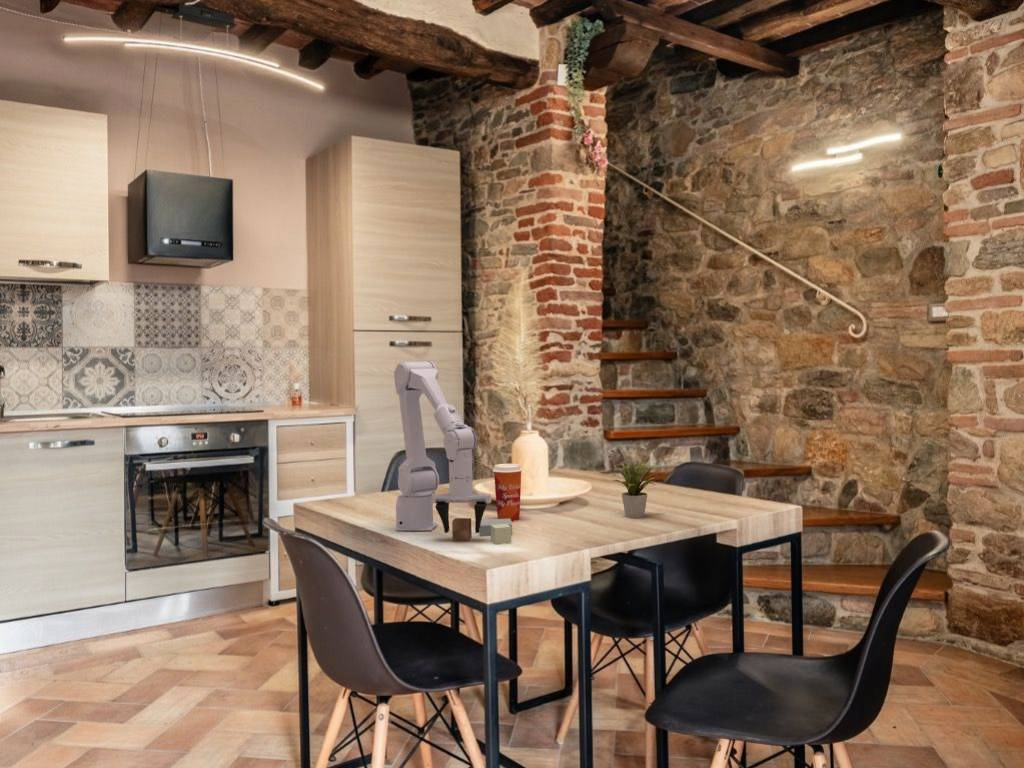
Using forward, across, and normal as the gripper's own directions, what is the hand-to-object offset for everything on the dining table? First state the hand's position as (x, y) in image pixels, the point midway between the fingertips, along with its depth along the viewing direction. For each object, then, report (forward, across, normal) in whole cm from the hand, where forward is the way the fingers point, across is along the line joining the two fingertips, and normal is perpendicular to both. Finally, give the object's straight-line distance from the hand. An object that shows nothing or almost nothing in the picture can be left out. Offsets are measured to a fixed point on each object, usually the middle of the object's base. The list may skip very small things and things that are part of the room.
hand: (462, 532), depth 203 cm
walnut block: (+2, 0, 0) cm, 2 cm away
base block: (+2, +7, +9) cm, 12 cm away
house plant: (+2, +43, +30) cm, 52 cm away
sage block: (+2, +10, -2) cm, 10 cm away
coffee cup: (+2, +8, +26) cm, 27 cm away
